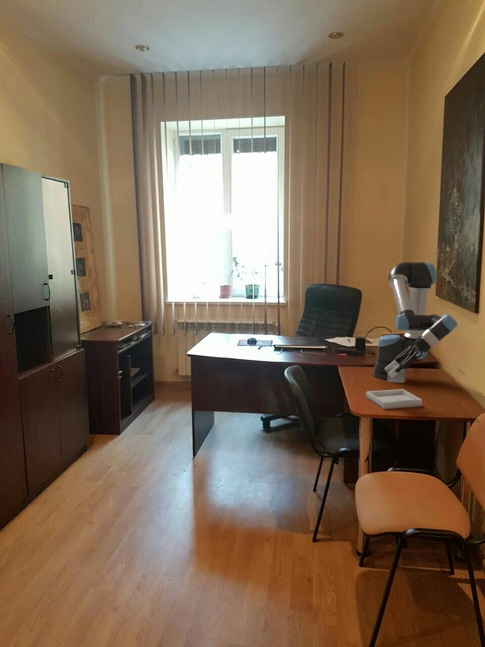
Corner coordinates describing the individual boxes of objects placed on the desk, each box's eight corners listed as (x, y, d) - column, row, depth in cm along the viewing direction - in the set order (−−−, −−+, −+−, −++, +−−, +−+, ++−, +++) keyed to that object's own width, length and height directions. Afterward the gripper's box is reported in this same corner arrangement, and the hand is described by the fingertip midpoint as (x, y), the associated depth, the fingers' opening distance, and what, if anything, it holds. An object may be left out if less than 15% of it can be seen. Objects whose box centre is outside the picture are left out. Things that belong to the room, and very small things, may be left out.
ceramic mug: (406, 384, 213) (407, 368, 212) (387, 383, 215) (388, 367, 214) (404, 379, 223) (405, 363, 222) (386, 377, 225) (387, 362, 224)
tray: (365, 397, 226) (366, 391, 226) (402, 394, 231) (402, 389, 230) (383, 408, 211) (383, 402, 210) (421, 405, 215) (422, 399, 215)
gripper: (438, 352, 204) (398, 385, 208) (425, 342, 224) (389, 373, 229) (426, 340, 203) (387, 373, 208) (414, 331, 224) (378, 362, 228)
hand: (388, 373), depth 218 cm, fingers closed on ceramic mug, 8 cm apart
